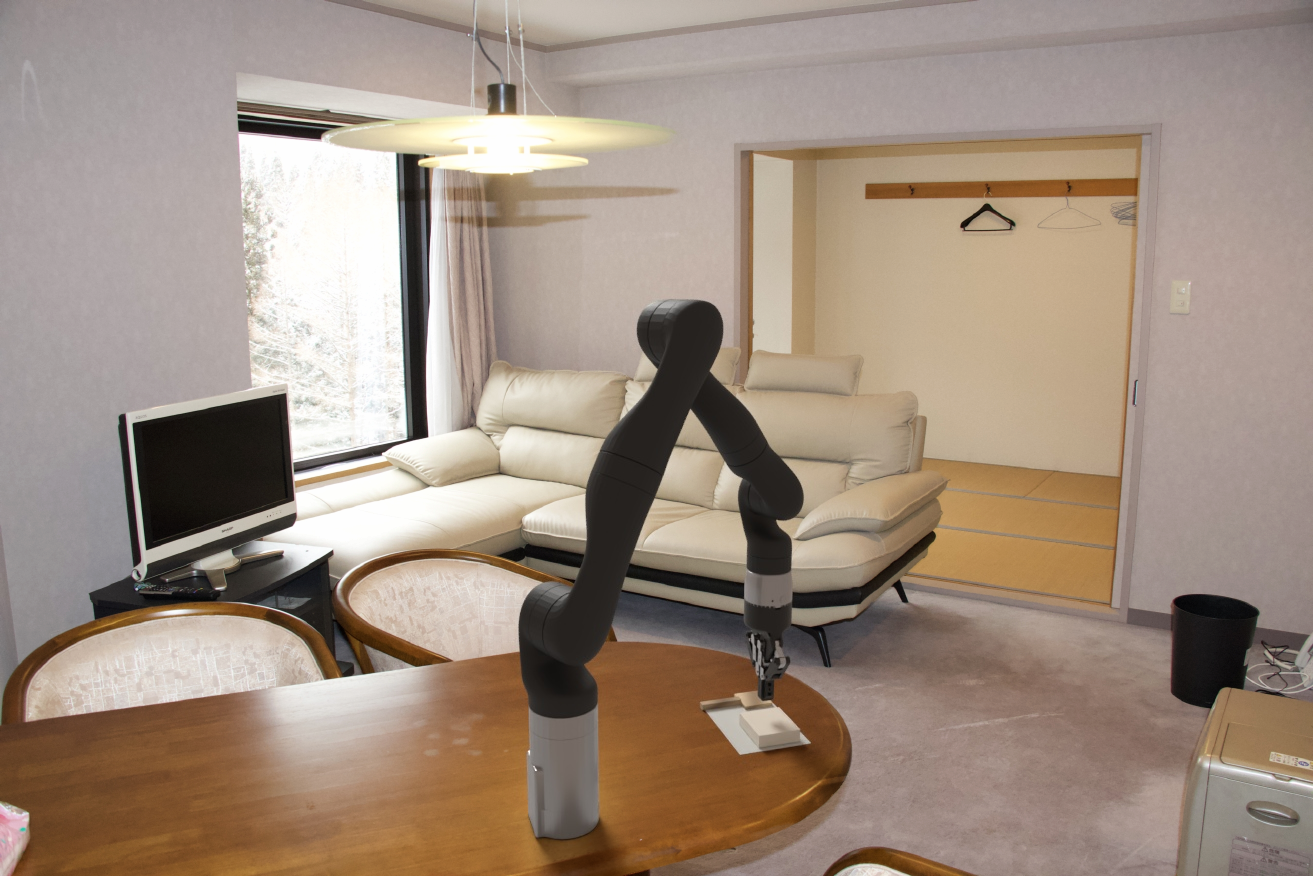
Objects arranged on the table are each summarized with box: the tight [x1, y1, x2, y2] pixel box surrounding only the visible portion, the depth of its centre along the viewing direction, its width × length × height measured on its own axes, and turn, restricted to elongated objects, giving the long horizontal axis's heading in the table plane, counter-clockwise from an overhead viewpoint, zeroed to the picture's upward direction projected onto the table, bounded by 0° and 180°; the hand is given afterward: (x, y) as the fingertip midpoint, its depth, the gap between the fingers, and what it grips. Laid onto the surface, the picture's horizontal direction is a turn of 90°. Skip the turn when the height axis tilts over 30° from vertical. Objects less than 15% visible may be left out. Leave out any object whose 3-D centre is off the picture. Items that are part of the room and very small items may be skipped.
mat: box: [704, 703, 811, 756], centre depth 158 cm, size 12×18×1 cm, turn 17°
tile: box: [739, 706, 801, 748], centre depth 154 cm, size 7×2×8 cm
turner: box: [699, 690, 774, 712], centre depth 164 cm, size 12×5×1 cm, turn 107°
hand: (765, 698), depth 155 cm, fingers closed
